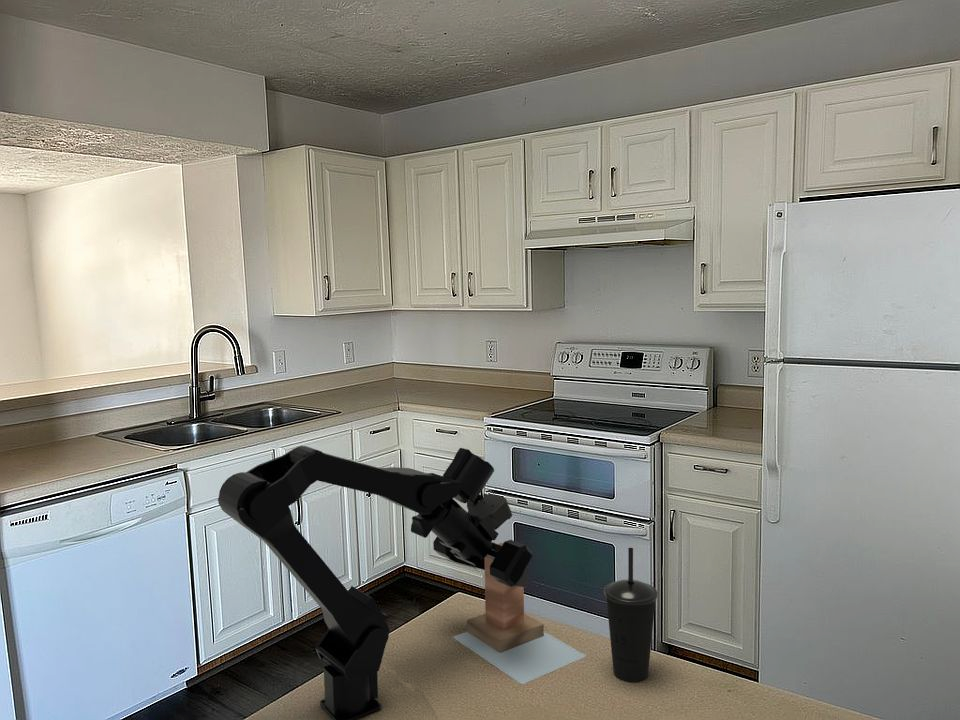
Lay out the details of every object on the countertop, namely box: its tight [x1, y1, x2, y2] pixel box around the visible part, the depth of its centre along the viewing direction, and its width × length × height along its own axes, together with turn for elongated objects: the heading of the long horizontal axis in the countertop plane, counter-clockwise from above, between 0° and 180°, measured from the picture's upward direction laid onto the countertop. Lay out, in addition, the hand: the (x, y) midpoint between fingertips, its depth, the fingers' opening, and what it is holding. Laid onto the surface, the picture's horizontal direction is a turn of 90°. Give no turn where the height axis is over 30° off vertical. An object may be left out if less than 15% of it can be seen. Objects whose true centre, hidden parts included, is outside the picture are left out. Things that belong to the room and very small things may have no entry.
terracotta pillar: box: [484, 541, 525, 631], centre depth 118 cm, size 4×4×12 cm
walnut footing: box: [466, 613, 545, 653], centre depth 119 cm, size 9×9×2 cm
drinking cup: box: [603, 547, 659, 684], centre depth 105 cm, size 8×8×20 cm
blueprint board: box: [452, 631, 588, 685], centre depth 115 cm, size 13×18×1 cm
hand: (508, 576), depth 119 cm, fingers open, 9 cm apart
